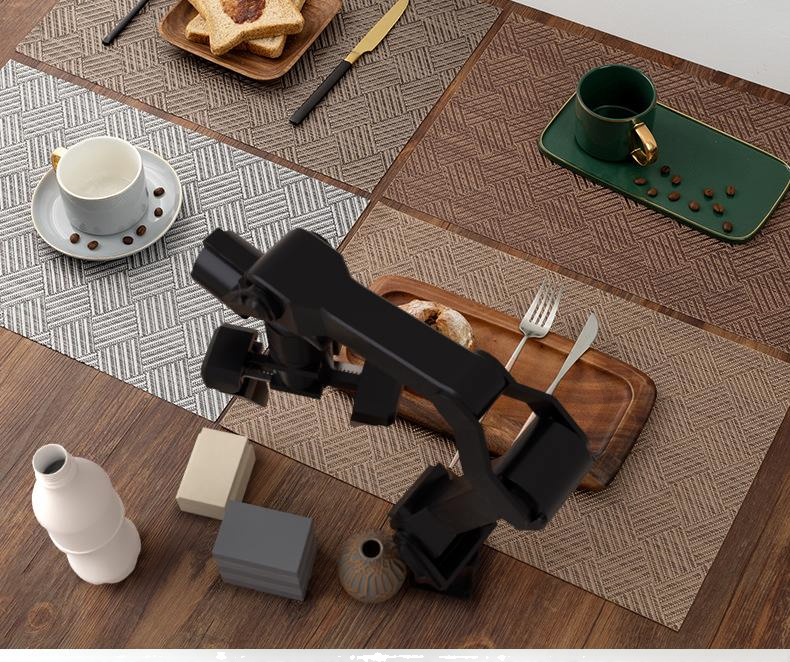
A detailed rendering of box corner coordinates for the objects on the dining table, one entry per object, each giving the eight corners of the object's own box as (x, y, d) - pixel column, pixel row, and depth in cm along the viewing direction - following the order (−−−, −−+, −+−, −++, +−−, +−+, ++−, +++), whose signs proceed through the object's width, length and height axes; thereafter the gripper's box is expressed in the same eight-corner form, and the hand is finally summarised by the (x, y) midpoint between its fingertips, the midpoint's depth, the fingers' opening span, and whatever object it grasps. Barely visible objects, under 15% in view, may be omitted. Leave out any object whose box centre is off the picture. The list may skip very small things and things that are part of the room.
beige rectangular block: (256, 458, 124) (252, 444, 121) (235, 523, 119) (230, 510, 116) (203, 446, 124) (198, 432, 121) (180, 510, 120) (175, 497, 117)
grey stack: (317, 549, 118) (312, 518, 110) (303, 601, 115) (297, 572, 107) (239, 531, 119) (229, 499, 112) (223, 582, 116) (211, 552, 108)
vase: (378, 625, 114) (377, 598, 106) (325, 583, 116) (320, 555, 109) (419, 571, 117) (421, 541, 109) (366, 531, 119) (365, 500, 112)
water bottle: (132, 598, 115) (74, 507, 94) (65, 584, 116) (-7, 490, 95) (154, 531, 119) (104, 429, 98) (89, 518, 120) (26, 414, 99)
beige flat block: (225, 511, 116) (224, 507, 115) (179, 501, 117) (177, 496, 116) (249, 441, 121) (248, 436, 120) (204, 431, 121) (202, 426, 120)
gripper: (421, 281, 104) (418, 362, 117) (227, 242, 106) (244, 325, 119) (393, 387, 98) (393, 460, 111) (187, 343, 100) (211, 420, 113)
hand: (309, 412), depth 113 cm, fingers open, 9 cm apart
